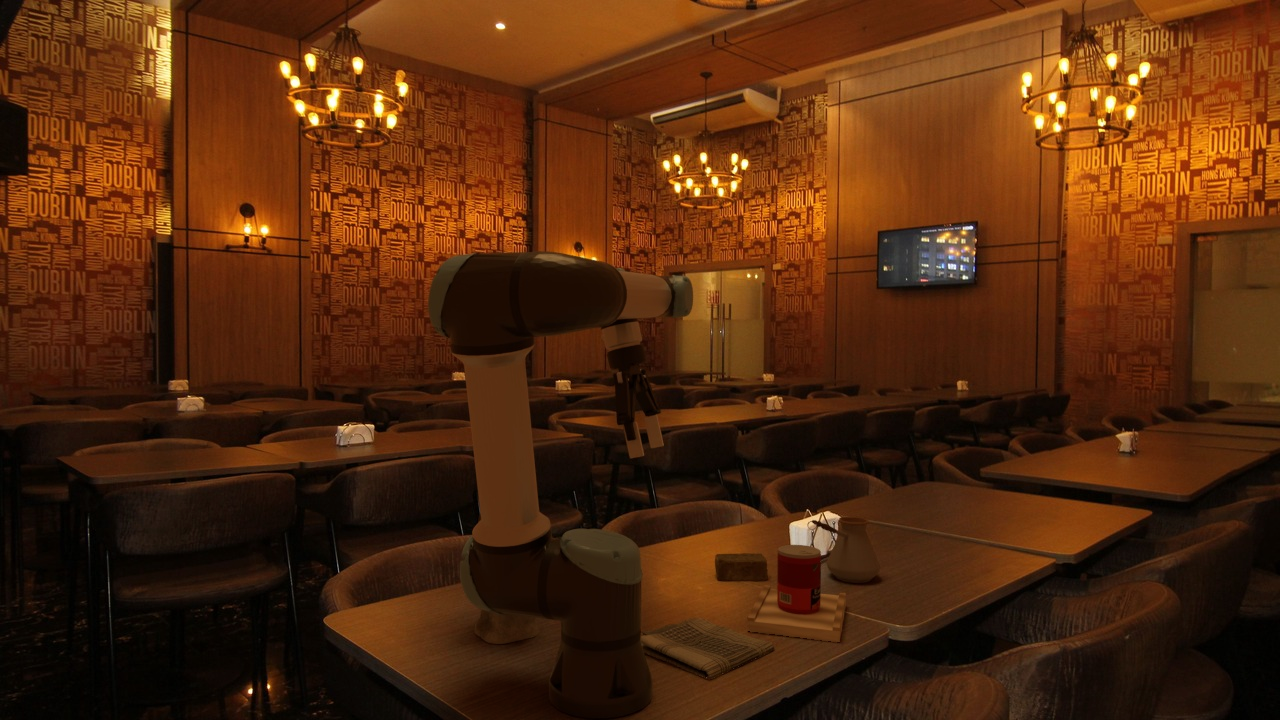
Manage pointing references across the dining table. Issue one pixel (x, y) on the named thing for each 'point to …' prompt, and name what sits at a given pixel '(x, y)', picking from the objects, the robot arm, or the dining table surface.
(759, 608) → the board
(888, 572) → the dining table surface
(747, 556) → the stone block
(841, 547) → the coffee pot
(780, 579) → the canned food
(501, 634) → the figurine
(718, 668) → the dish towel
